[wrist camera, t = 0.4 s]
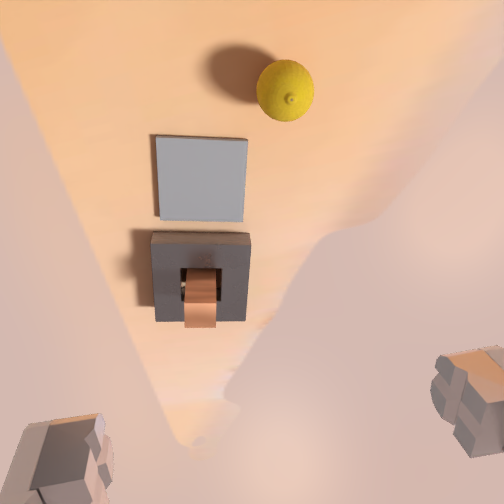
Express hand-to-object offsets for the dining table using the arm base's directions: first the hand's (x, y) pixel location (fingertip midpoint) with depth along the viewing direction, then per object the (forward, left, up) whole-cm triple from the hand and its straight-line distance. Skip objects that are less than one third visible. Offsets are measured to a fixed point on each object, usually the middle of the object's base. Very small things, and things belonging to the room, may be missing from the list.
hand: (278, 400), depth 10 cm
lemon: (-1, +6, -40) cm, 40 cm away
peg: (+23, -2, -40) cm, 46 cm away
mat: (+10, -2, -40) cm, 41 cm away
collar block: (+23, -2, -40) cm, 46 cm away
